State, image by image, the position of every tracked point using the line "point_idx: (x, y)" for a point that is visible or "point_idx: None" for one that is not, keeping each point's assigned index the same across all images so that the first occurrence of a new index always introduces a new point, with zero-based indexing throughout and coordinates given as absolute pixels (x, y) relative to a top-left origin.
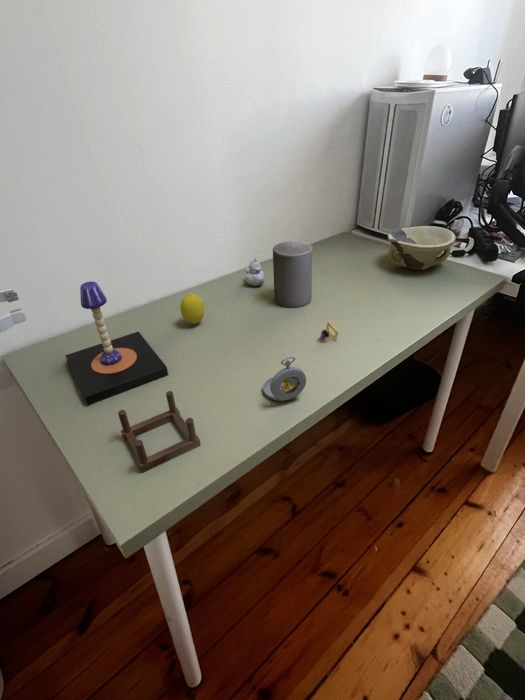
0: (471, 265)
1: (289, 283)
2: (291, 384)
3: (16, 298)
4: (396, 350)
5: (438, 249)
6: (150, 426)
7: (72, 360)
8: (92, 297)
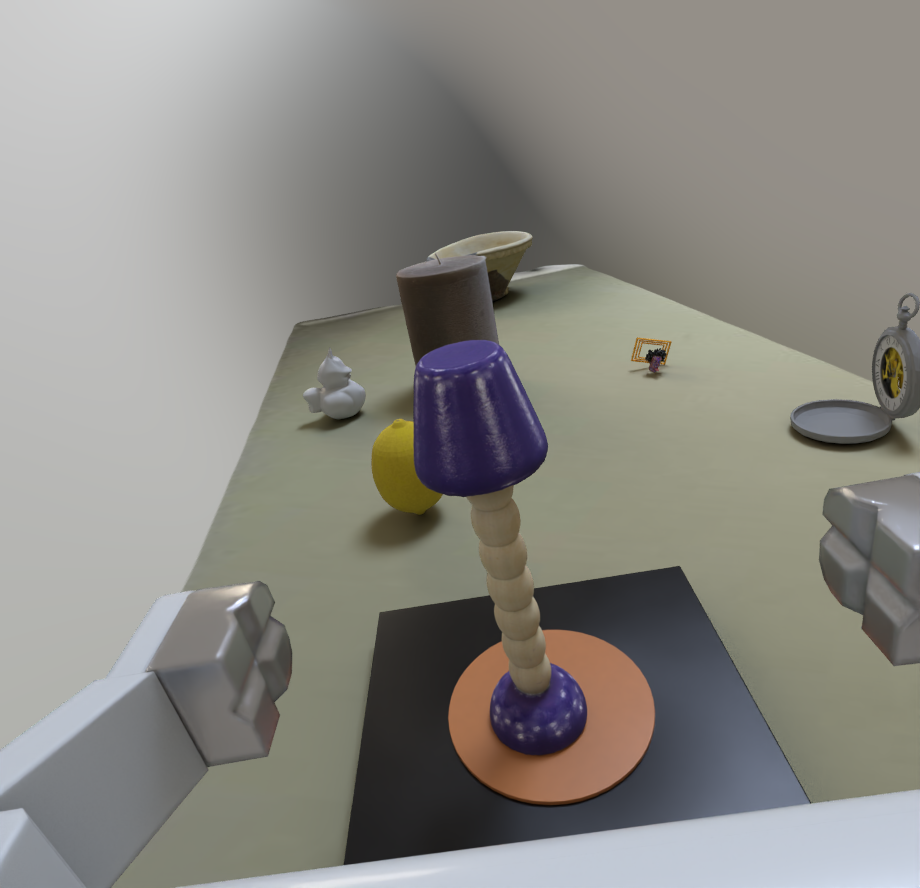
0: (530, 275)
1: (484, 333)
2: (819, 412)
3: (282, 656)
4: (733, 328)
5: (530, 243)
6: None
7: None
8: (526, 399)
